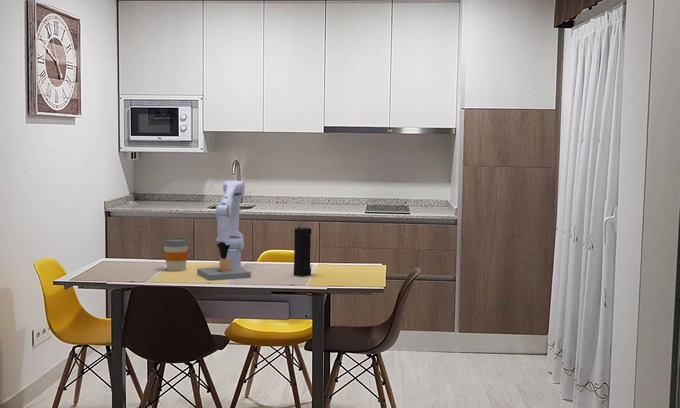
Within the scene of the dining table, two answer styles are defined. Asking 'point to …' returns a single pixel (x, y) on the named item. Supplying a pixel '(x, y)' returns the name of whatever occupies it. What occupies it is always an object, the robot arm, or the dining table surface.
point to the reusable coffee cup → (176, 253)
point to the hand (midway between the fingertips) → (223, 258)
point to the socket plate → (223, 273)
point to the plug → (224, 264)
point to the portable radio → (302, 251)
